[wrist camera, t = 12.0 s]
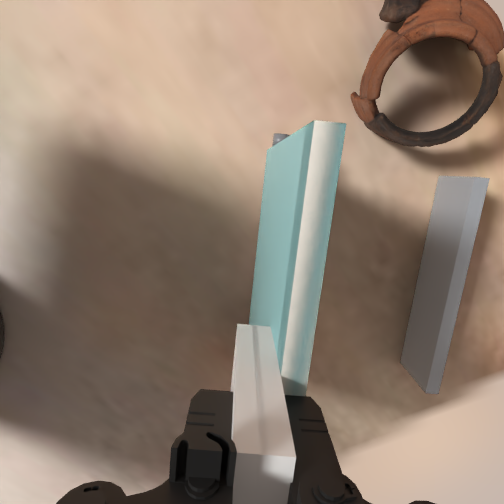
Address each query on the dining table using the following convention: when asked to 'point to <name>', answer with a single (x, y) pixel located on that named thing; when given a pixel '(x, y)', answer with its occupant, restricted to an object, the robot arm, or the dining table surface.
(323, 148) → the cover
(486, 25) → the brown ring with stub
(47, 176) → the dining table surface
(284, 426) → the robot arm
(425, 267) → the channel
